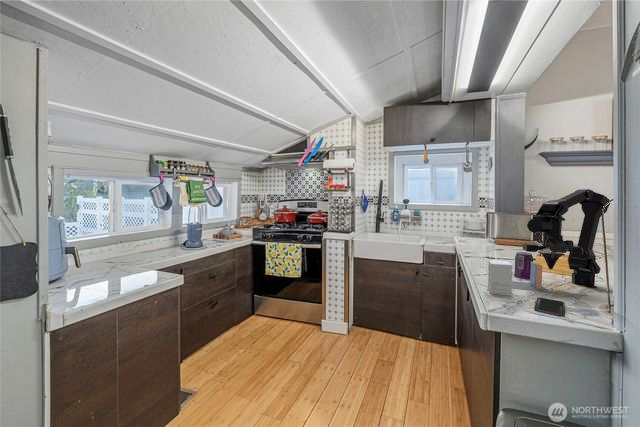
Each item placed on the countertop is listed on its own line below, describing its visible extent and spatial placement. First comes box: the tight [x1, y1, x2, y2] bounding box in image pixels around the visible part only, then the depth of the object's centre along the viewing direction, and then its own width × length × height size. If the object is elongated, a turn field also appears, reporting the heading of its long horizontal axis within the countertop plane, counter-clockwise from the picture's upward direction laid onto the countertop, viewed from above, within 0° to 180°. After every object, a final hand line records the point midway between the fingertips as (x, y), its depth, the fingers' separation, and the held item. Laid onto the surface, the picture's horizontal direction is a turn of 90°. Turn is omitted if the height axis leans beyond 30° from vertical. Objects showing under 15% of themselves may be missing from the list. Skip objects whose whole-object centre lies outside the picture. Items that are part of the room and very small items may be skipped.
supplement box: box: [487, 259, 513, 297], centre depth 113 cm, size 7×7×13 cm
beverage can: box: [513, 251, 534, 280], centre depth 134 cm, size 7×7×12 cm
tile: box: [529, 261, 543, 289], centre depth 119 cm, size 2×6×10 cm, turn 160°
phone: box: [533, 297, 566, 317], centre depth 98 cm, size 8×1×15 cm
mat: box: [512, 280, 551, 293], centre depth 120 cm, size 14×12×1 cm
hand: (550, 269), depth 117 cm, fingers closed
